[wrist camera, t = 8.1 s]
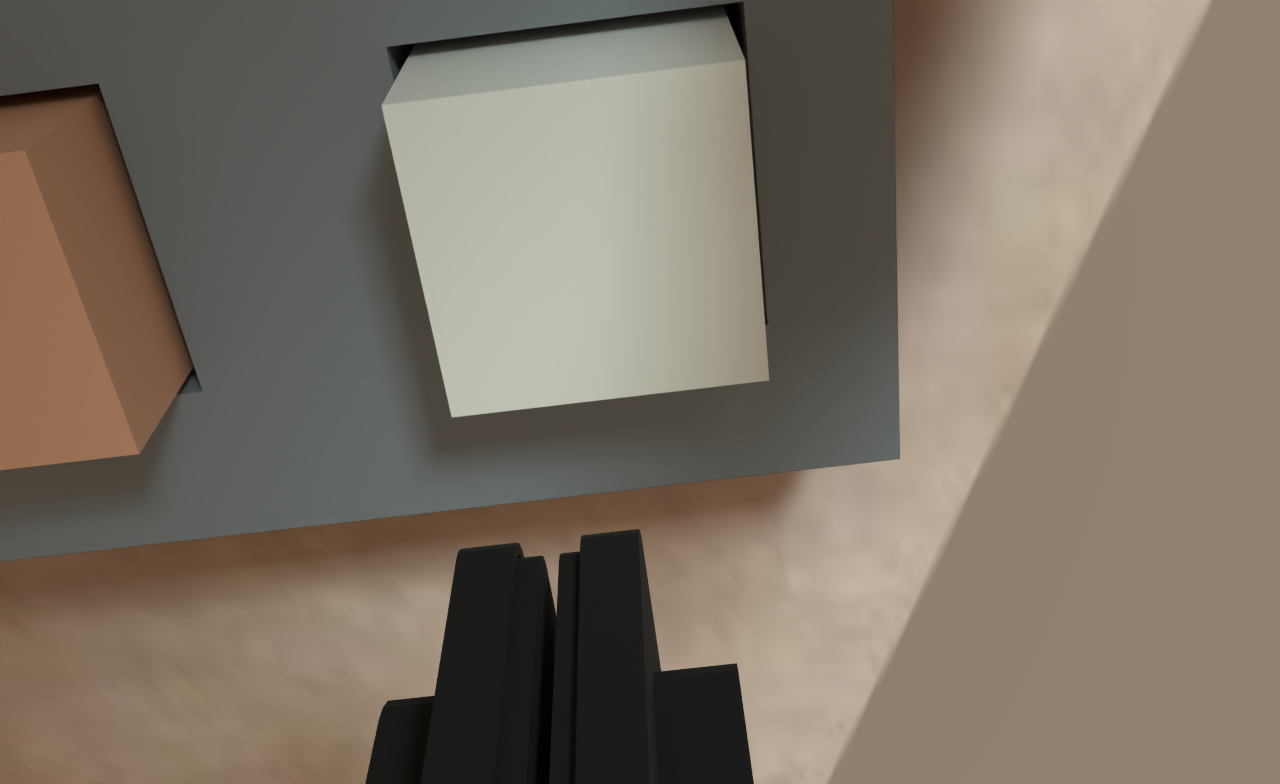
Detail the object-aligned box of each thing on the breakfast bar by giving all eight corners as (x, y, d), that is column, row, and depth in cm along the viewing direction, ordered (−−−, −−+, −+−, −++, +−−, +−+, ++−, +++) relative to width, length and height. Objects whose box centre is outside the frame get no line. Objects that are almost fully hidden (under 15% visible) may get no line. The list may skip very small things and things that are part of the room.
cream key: (420, 34, 24) (381, 105, 20) (719, -4, 24) (745, 59, 20) (475, 304, 27) (451, 417, 23) (742, 272, 27) (769, 380, 23)
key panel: (-312, -102, 25) (-500, -61, 21) (838, -255, 25) (888, -246, 20) (-48, 461, 32) (-149, 578, 28) (858, 354, 32) (899, 459, 27)
